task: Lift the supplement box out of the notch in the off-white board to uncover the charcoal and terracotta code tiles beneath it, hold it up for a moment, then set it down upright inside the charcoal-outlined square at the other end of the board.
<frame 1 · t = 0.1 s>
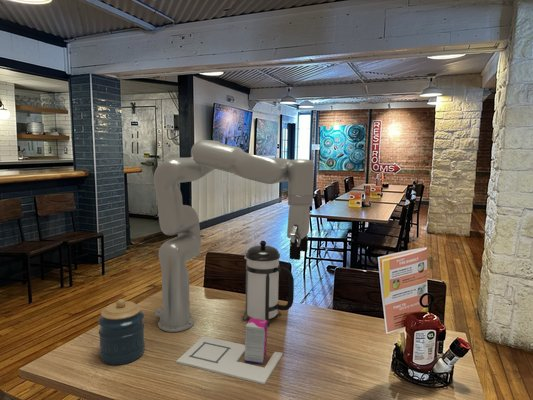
hand: (298, 254, 115), 31 cm above the table, tool pointing down, fingers open, 9 cm apart
canister: (122, 354, 115), on the table
coffee press: (265, 318, 141), on the table
code board: (230, 358, 113), on the table
supplement box: (255, 358, 113), on the table, touching code board
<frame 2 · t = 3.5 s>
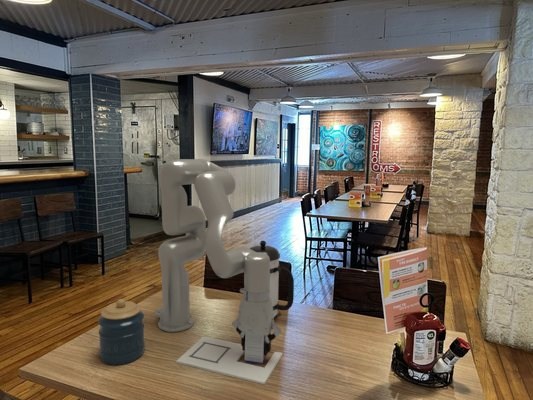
hand: (255, 350, 113), 3 cm above the table, tool pointing down, fingers closed on supplement box, 6 cm apart
supplement box: (255, 358, 113), on the table, touching code board, gripper
everything else where it was.
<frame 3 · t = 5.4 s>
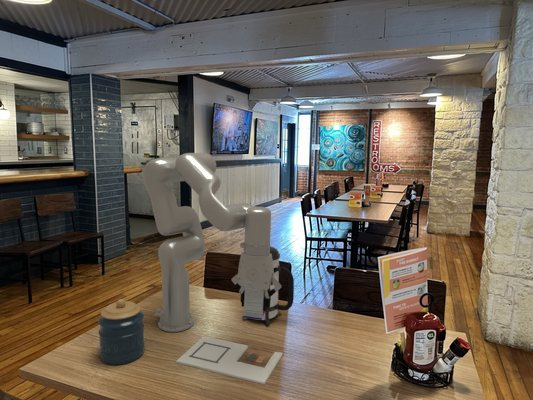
hand: (255, 306, 111), 16 cm above the table, tool pointing down, fingers closed on supplement box, 6 cm apart
supplement box: (254, 315, 112), point 14 cm above the table, touching gripper
everything else where it was.
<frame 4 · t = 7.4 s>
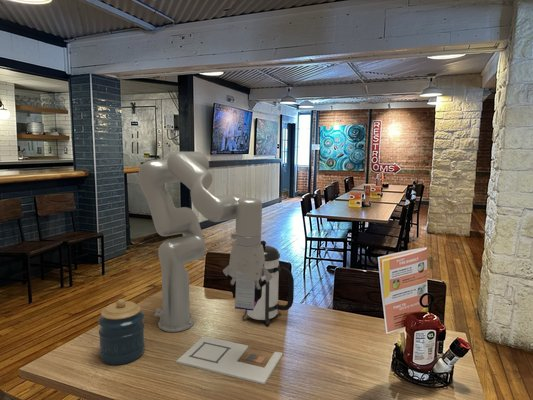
hand: (246, 297, 111), 19 cm above the table, tool pointing down, fingers closed on supplement box, 6 cm apart
supplement box: (246, 306, 112), point 16 cm above the table, touching gripper
everything else where it was.
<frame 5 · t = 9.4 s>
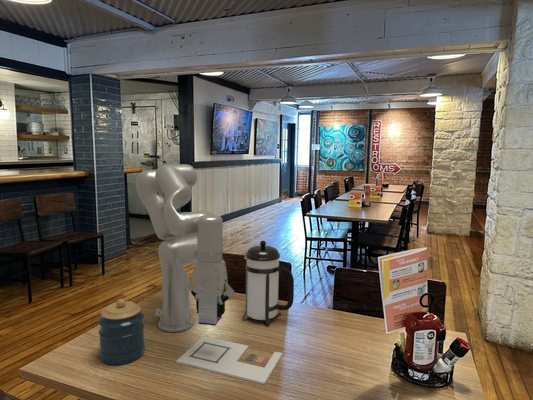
hand: (210, 312, 113), 13 cm above the table, tool pointing down, fingers closed on supplement box, 6 cm apart
supplement box: (210, 321, 114), point 11 cm above the table, touching gripper
everything else where it was.
when the fingers open (5 cm above the table, at t = 11.4 s): supplement box drops 2 cm, resting on code board.
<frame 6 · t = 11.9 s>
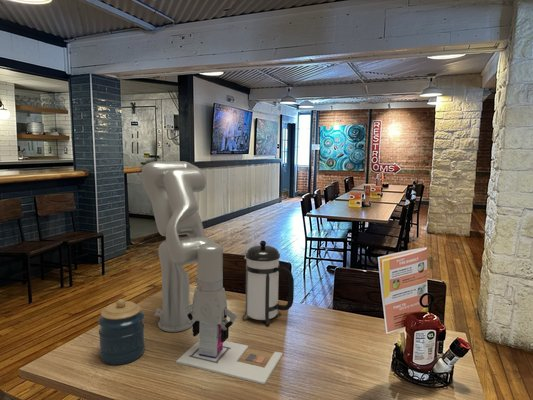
hand: (210, 337, 115), 6 cm above the table, tool pointing down, fingers open, 9 cm apart
supplement box: (211, 353, 115), resting on code board
everything else where it was.
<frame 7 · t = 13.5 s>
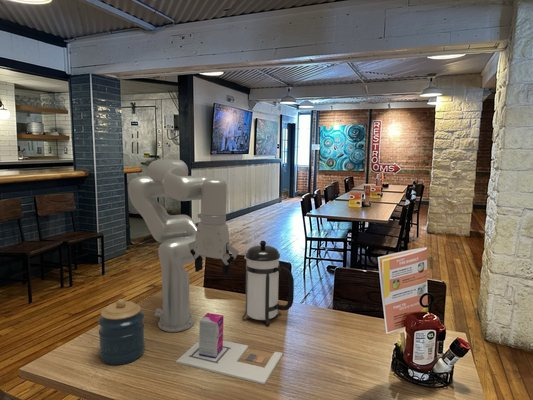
hand: (212, 273, 115), 25 cm above the table, tool pointing down, fingers open, 9 cm apart
nothing on the table moved.
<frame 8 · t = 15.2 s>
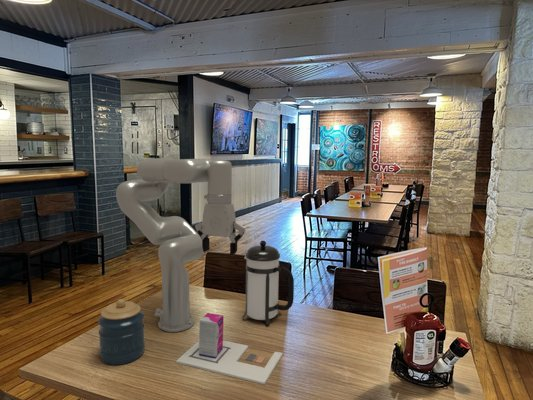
hand: (219, 252, 119), 30 cm above the table, tool pointing down, fingers open, 9 cm apart
nothing on the table moved.
at the end: supplement box 0.3 cm from the target spot, resting on code board; supplement box tilted 0°; the gripper is holding nothing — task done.
